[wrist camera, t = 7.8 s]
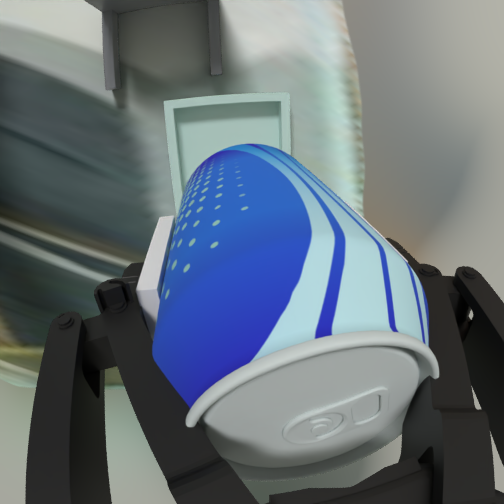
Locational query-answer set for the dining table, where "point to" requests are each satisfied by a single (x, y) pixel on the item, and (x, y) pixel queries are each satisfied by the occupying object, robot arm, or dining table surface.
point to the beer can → (287, 319)
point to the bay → (113, 3)
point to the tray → (222, 129)
